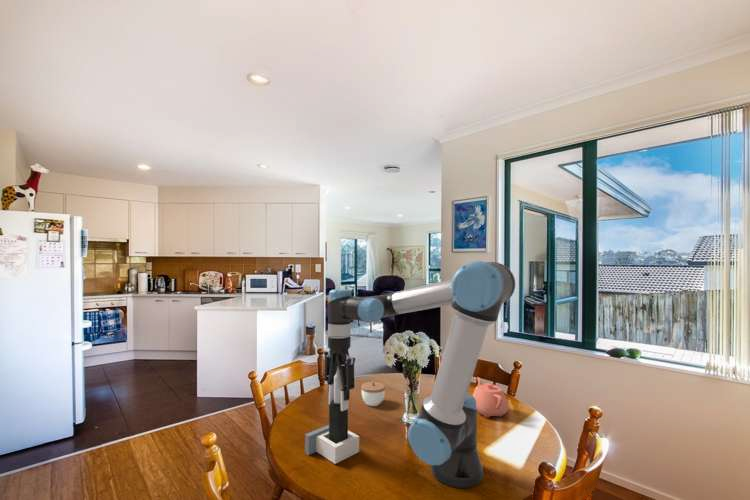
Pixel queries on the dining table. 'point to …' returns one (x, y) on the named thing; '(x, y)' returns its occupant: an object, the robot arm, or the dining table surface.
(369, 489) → the dining table surface
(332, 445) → the socket block
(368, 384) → the lidded jar
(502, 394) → the teapot
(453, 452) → the robot arm
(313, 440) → the backstop wall
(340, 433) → the candle
